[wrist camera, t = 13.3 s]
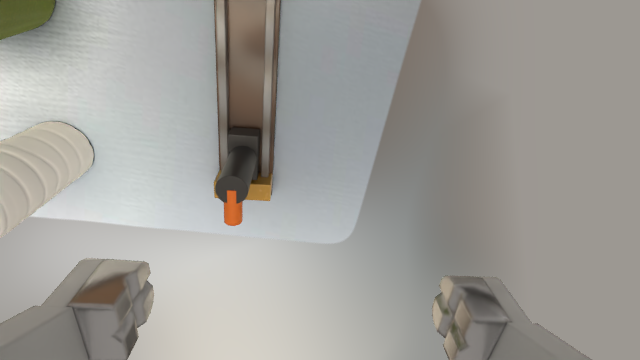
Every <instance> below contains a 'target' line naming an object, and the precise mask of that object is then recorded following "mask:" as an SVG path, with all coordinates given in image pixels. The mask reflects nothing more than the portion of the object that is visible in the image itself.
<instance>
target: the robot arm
mask: <svg viewBox="0 0 640 360" xmlns="http://www.w3.org/2000/svg"><path fill="white" fill-rule="evenodd" d="M149 275H150V268H149V264H148V263H147V262H144V261H130V260H129V261H128V260H114V259H95V258H86V259H83V260H81V261H80V262H79V263H78V264H77V265H76V267H75V268H74V269H73V270H72V271H71V272H70V273H69V275H68V276H67V277H66V278H65V279H64V280H63V282H62V283H61V284H60V285H59V286H58V287H57V288H56V289H55V291H54V292H53V293H52V294H51V295H50V296H49V297H48V298H47V299H46V301H45V302H44V303H43V304H42V305H41V306H33V307H31V308H29V309H27V310H25V311H24V312H22V313H19V314H17V315H16V316H14V317H12V318H10V319H8V320H6V321H4V322H2V323H0V360H127V359H128V357H129V355H130V353H131V351H132V349H133V347H134V345H135V343H136V341H137V339H138V331H137V328H138V327H140V326H141V325H143V324H144V323H145V322H146V321H147V319H148V317H149V314H150V313H151V309H152V304H153V297H154V292H153V286H152V285H151V284H150V283H149V282H148V281H147V279H148V277H149ZM439 286H440V289H441V291H442V292H441V293H440V294H439V295H437V296H436V297H435V299H434V303H433V306H432V316H433V320H434V324H435V327H436V329H437V332H439V333H440V334H441V335H442V336H443V337H444V338H445V341H444V344H443V347H444V349H445V351H446V354H447V356H448V358H449V360H592V359H590V358H589V357H587V356H586V355H584V354H582V353H581V352H580V351H578V350H576V349H575V348H573V347H572V346H570V345H569V344H568V343H566V342H565V341H563V340H561V339H560V338H558V337H557V336H555V335H554V334H553V333H551V332H550V331H548V330H547V329H545V328H544V327H542V326H541V325H539V324H536V323H535V324H534V323H532V322H531V321H530V320H529V318H528V317H527V316H526V314H525V313H524V312H523V310H522V309H521V307H520V306H519V305H518V303H517V302H516V300H515V299H514V298H513V296H512V295H511V293H510V292H509V291H508V289H507V288H506V287H505V285H504V284H503V282H502V281H501V280H500V279H498V278H497V277H470V276H444V277H443V278H442V279H441V282H440V285H439Z"/></svg>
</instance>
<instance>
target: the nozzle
mask: <svg viewBox="0 0 640 360" xmlns="http://www.w3.org/2000/svg"><path fill="white" fill-rule="evenodd" d="M259 157H260V129H249V128H236V127H232V128H231V130H230V132H229V134H228V158H227V161H226V163H225V165H224V167H223V169H222V172H221V174H220V176H219V178H218V180H217V183H216V185H215V192H216V195H217V196H218V198H219V199H220V200H222V201H223V202H224V222H225V223H226V224H227V225H230V226H236V225H239V224H240V223H241V222H242V201H244V200H245V199H246V197H247V195H248V192H249V188H250V184H251V180H257V178H258V174H259Z"/></svg>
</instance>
